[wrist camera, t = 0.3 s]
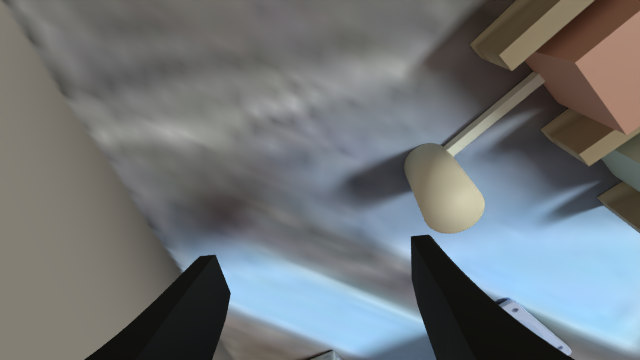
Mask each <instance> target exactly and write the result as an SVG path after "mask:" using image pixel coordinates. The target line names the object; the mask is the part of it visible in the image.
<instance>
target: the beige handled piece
mask: <svg viewBox="0 0 640 360" xmlns="http://www.w3.org/2000/svg"><path fill="white" fill-rule="evenodd" d="M525 62H526V63H527V64H528V65H529V67H530V68H531V69H532V71H533V72H532V73H531V74H530V75H529V76H527V77H526V78H525V79H524V80H523V81H521V82H520V83H519V84H518V85H517V86H515V87H514V88H513V89H512V90H511V91H509V92H508V93H507V94H506V95H505V96H503V97H502V98H501V99H500V100H499V101H497V102H496V103H495V104H494V105H493V106H491V107H490V108H489V109H488V110H487V111H485V112H484V113H483V114H482V115H481V116H479V117H478V118H477V119H476V120H475V121H474V122H472V123H471V124H470V125H469V126H468V127H466V128H465V129H464V130H463V131H462V132H460V133H459V134H458V135H457V136H456V137H454V138H453V139H452V140H451V141H450V142H448V143H447V144H446V145H445V146H442V145H439V144H435V143H428V144H423V145H420V146H418V147H417V148H415V149H414V150H412V151H411V152H410V153H409V155H408V156H407V158H406V160H405V163H404V172H405V175H406V177H407V180H408V182H409V184H410V187H411V189H412V191H413V194H414V196H415V198H416V201H417V203H418V206H419V208H420V210H421V213H422V215H423V217H424V220H425V222H426V223H427V225H428V226H429V227H430V228H431V229H433V230H435V231H437V232H440V233H447V234H450V233H458V232H461V231H464V230H466V229H468V228H470V227H471V226H473V225H474V224H475V223H476V222H477V221H478V220H479V219H480V217H481V216H482V214H483V211H484V207H485V202H484V198H483V196H482V194H481V193H480V191H479V190H478V189H477V188H476V186H475V185H474V184H473V182H472V181H471V180H470V178H469V177H468V176H467V174H466V173H465V172H464V170H463V169H462V168H461V167H460V165H459V164H458V163H457V161H456V160H455V159H454V157H453V156H454V155H455V154H457V153H458V152H459V151H460V150H462V149H463V148H464V147H465V146H467V145H468V144H469V143H470V142H471V141H473V140H474V139H475V138H476V137H478V136H479V135H480V134H481V133H483V132H484V131H485V130H486V129H488V128H489V127H490V126H491V125H492V124H494V123H495V122H496V121H497V120H499V119H500V118H501V117H502V116H504V115H505V114H506V113H507V112H508V111H510V110H511V109H512V108H513V107H515V106H516V105H517V104H518V103H520V102H521V101H522V100H523V99H525V98H526V97H527V96H528V95H529V94H531V93H532V92H533V91H534V90H536V89H537V88H538V87H539V86H541V85H542V84H543V85H544V86H545V87H546V89H547V90H548V91H549V92H550V94H551V95H552V96H553V98H554V99H555V100H556V101H557V103H559V104H561V105H564V106H566V107H568V108H570V109H572V110H574V111H576V112H578V113H581V114H583V115H585V116H587V117H589V118H591V119H593V120H595V121H598V122H600V123H602V124H604V125H606V126H608V127H610V128H612V129H615V130H617V131H619V132H621V133H623V134H625V135H628V134H629V133H631V132H632V131H634V130H635V129H637V128H638V127H639V126H640V0H594V1H593V2H592V3H591V4H590V5H589V6H587V7H586V8H585V9H584V10H583V11H582V12H580V13H579V14H578V15H577V16H576V17H575V18H573V19H572V20H571V21H570V22H569V23H568V24H566V25H565V26H564V27H563V28H562V29H561V30H559V31H558V32H557V33H556V34H555V35H554V36H552V37H551V38H550V39H549V40H548V41H547V42H545V43H544V44H543V45H542V46H541V47H540V48H538V49H537V50H536V51H535V52H534V53H533V54H531V55H530V56H529V57H528V58H527V59H526V60H525Z"/></svg>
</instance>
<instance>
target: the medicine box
mask: <svg viewBox="0 0 640 360" xmlns="http://www.w3.org/2000/svg"><path fill="white" fill-rule="evenodd" d="M310 360H342V359H341V358H340V357H339V356H338V355H337V354H336V353H335V352H334V351H331V352H328V353H325V354H322V355H320V356H317V357H315V358H313V359H310Z"/></svg>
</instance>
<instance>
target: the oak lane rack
mask: <svg viewBox="0 0 640 360" xmlns="http://www.w3.org/2000/svg"><path fill="white" fill-rule="evenodd" d="M593 1H594V0H516V1H515V2H514V3H513V4H512V5H511V6H510V7H509V8H508V9H506V10H505V11H504V12H503V13H502V14H501V15H500V16H499V17H498V18H497V19H496V20H495V21H494V22H493V23H492V24H491V25H490V26H489V27H487V28H486V29H485V30H484V31H483V32H482V33H481V34H480V35H479V36H478V37H477V38H476V39H475V40H474V41H473V42H472V43H471V44H470V46H471V47H472V48H473V50H474V51H475V52H476V53H477V54H478V56H479V57H480V58H482V59H484V60H486V61H489V62H491V63H494V64H496V65H498V66H501V67H503V68H506V69H508V70H510V71H513V70H514V69H515V68H516V67H517V66H519V65H520V64H521V63H522V62H523V61H524V60H526V59H527V58H528V57H529V56H530V55H531V54H533V53H534V52H535V51H536V50H537V49H538V48H540V47H541V46H542V45H543V44H544V43H545V42H547V41H548V40H549V39H550V38H551V37H552V36H554V35H555V34H556V33H557V32H558V31H559V30H561V29H562V28H563V27H564V26H565V25H566V24H568V23H569V22H570V21H571V20H572V19H573V18H575V17H576V16H577V15H578V14H579V13H580V12H582V11H583V10H584V9H585V8H586V7H587V6H589V5H590V4H591V3H592V2H593ZM540 130H541V131H542V132H543V133H544V134H545V136H546V137H547V138H548V139H549V140H550V141H551V142H553V143H554V144H556V145H557V146H559V147H560V148H562V149H563V150H565V151H566V152H568V153H569V154H571V155H572V156H574V157H575V158H577V159H579V160H580V161H582V162H583V163H585V164H586V165H588V166H590V165H592V164H593V163H595V162H596V161H598V160H599V159H601V158H602V157H604V156H605V155H607V154H608V153H610V152H611V151H613V150H614V149H616V148H617V147H619V146H620V145H622V144H623V143H625V142H626V141H628V140H629V139H631V138H632V137H634V136H635V135H637V134H638V133H640V126H639V127H638V128H637V129H635V130H634V131H632V132H631V133H629V134H628V135H625V134H623V133H621V132H619V131H617V130H615V129H612V128H610V127H608V126H606V125H604V124H602V123H600V122H598V121H595V120H593V119H591V118H589V117H587V116H585V115H583V114H581V113H578V112H576V111H574V110H572V109H570V108H568V109H567V110H565V111H564V112H563V113H561V114H560V115H559V116H557V117H556V118H555V119H553V120H552V121H551V122H549V123H548V124H547V125H546V126H544V127H543V128H542V129H540ZM597 198H598V199H599V200H600V201H601V203H602V204H603V205H604V206H605V207H606V208H608V209H609V210H610V211H611V212H613V213H614V214H615V215H617V216H618V217H619V218H621V219H622V220H623V221H624V222H626V223H627V224H628V225H630V226H631V227H632V228H634V229H635V230H636V231H637V232H639V233H640V192H639V191H638V190H636V189H634V188H633V187H631V186H630V185H628V184H627V183H625V182H623V181H622V182H621V183H619V184H617V185H616V186H614V187H613V188H611V189H609V190H608V191H606V192H605V193H603V194H601V195H600V196H598V197H597Z"/></svg>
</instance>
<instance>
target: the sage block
mask: <svg viewBox="0 0 640 360" xmlns="http://www.w3.org/2000/svg"><path fill="white" fill-rule="evenodd" d="M601 159H602V161H603V162H604V163H605V165H606V166H607V167H608V168H609V170H610V171H611V172H612V174H613V175H614V176H616V177H617V178H619V179H620V180H622V181H623V182H625V183H627V184H628V185H630V186H631V187H633V188H634V189H636V190H638V191H639V192H640V133H638V134H637V135H635V136H634V137H632V138H631V139H629V140H628V141H626V142H625V143H623V144H622V145H620V146H619V147H617V148H616V149H614V150H613V151H611V152H610V153H608V154H607V155H605V156H604V157H602V158H601Z"/></svg>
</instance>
